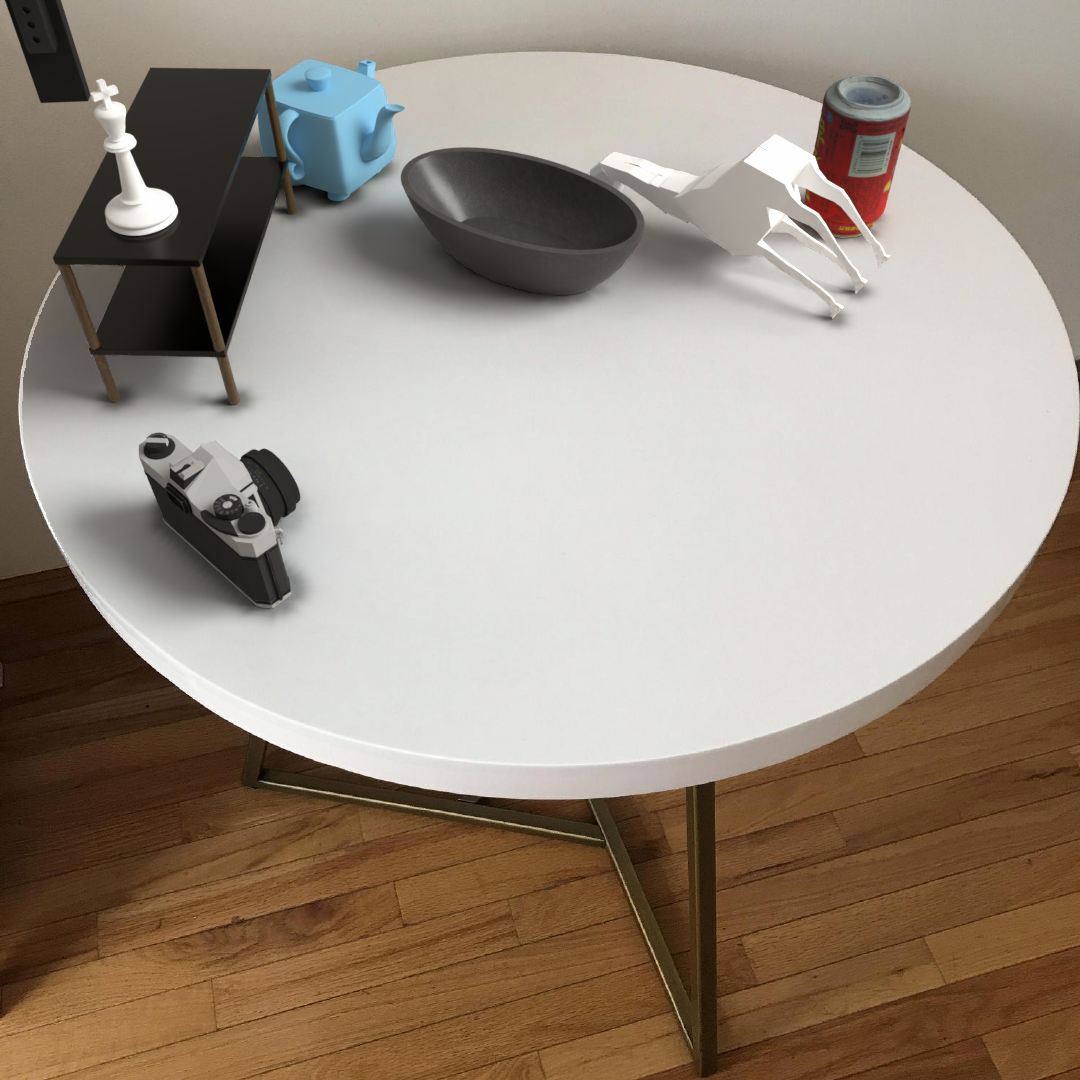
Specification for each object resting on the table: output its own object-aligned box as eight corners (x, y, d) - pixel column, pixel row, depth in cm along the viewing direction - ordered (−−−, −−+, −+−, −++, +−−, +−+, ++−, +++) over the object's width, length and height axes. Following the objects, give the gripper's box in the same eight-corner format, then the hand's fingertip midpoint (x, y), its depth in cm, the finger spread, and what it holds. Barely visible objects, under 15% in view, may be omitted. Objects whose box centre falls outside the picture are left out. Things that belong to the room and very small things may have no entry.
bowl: (600, 341, 93) (603, 278, 88) (376, 259, 100) (367, 196, 95) (667, 262, 99) (673, 199, 95) (452, 190, 107) (448, 128, 102)
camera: (356, 553, 79) (332, 454, 72) (267, 622, 75) (233, 524, 68) (237, 473, 85) (205, 375, 78) (149, 532, 81) (108, 435, 75)
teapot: (217, 180, 108) (192, 77, 100) (311, 112, 116) (294, 12, 108) (373, 237, 102) (358, 133, 94) (460, 162, 110) (454, 59, 102)
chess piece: (94, 214, 82) (47, 79, 74) (156, 187, 84) (117, 54, 76) (127, 245, 79) (82, 109, 71) (191, 217, 81) (154, 82, 74)
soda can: (896, 232, 102) (931, 102, 93) (825, 249, 100) (853, 118, 91) (855, 190, 106) (884, 61, 97) (787, 206, 105) (809, 77, 96)
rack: (238, 405, 88) (198, 260, 78) (109, 402, 88) (52, 257, 78) (297, 209, 105) (270, 68, 95) (188, 207, 105) (150, 67, 95)
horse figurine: (805, 352, 105) (600, 174, 107) (909, 235, 91) (671, 32, 93) (778, 382, 102) (568, 199, 104) (880, 266, 88) (636, 56, 90)
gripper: (-31, -324, 47) (114, 148, 63) (84, -443, 64) (176, -44, 80) (-219, -320, 47) (-25, 153, 63) (-55, -441, 63) (66, -41, 79)
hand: (87, 44), depth 71 cm, fingers open, 13 cm apart
